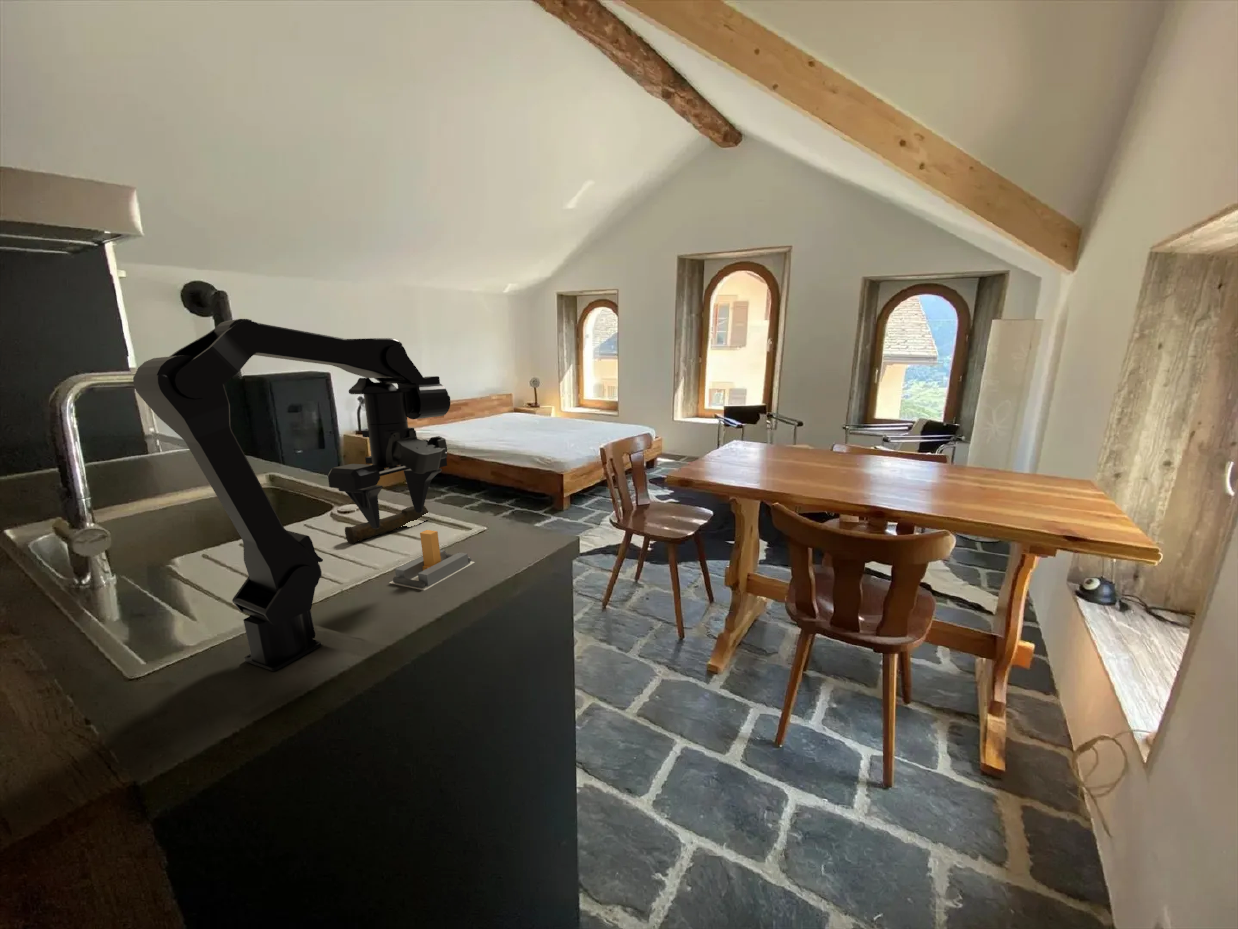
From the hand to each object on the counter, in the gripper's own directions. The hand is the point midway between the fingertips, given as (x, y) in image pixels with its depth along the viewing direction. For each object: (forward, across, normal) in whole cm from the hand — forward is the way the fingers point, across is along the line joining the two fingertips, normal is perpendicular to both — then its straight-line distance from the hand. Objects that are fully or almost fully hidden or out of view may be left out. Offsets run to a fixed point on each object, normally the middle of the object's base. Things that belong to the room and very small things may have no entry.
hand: (398, 520), depth 82 cm
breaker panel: (+12, +6, -1) cm, 14 cm away
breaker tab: (+11, +6, -1) cm, 12 cm away
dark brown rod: (+13, +24, +29) cm, 40 cm away
